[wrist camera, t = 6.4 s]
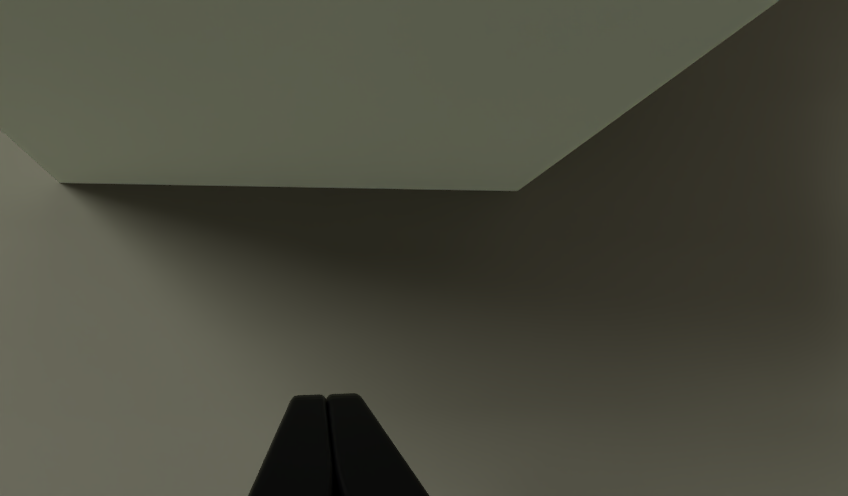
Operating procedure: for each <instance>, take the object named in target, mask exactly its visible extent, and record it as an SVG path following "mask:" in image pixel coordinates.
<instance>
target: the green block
mask: <svg viewBox="0 0 848 496" xmlns="http://www.w3.org/2000/svg"><path fill="white" fill-rule="evenodd" d="M778 1H779V0H0V130H1V131H3V132H4V133H5V134H6V135H7V136H8V137H9V138H10V139H11V140H12V141H14V142H15V143H16V144H17V145H18V146H19V147H20V148H21V149H22V150H24V151H25V152H26V153H27V154H28V155H29V156H30V157H31V158H32V159H34V160H35V161H36V162H37V163H38V164H39V165H40V166H41V167H42V168H44V169H45V170H46V171H47V172H48V173H49V174H50V175H51V176H52V177H54V178H55V179H56V180H57V181H58V182H59V183H93V184H149V185H204V186H260V187H316V188H372V189H428V190H483V191H518V190H520V189H521V188H522V187H524V186H525V185H527V184H528V183H529V182H531V181H532V180H533V179H535V178H536V177H538V176H539V175H540V174H542V173H543V172H544V171H546V170H547V169H549V168H550V167H551V166H553V165H554V164H555V163H557V162H558V161H560V160H561V159H562V158H564V157H565V156H566V155H568V154H569V153H571V152H572V151H573V150H575V149H576V148H577V147H579V146H580V145H581V144H583V143H584V142H586V141H587V140H588V139H590V138H591V137H592V136H594V135H595V134H597V133H598V132H599V131H601V130H602V129H603V128H605V127H606V126H608V125H609V124H610V123H612V122H613V121H614V120H616V119H617V118H619V117H620V116H621V115H623V114H624V113H625V112H627V111H628V110H630V109H631V108H632V107H634V106H635V105H636V104H638V103H639V102H641V101H642V100H643V99H645V98H646V97H647V96H649V95H650V94H652V93H653V92H654V91H656V90H657V89H658V88H660V87H661V86H663V85H664V84H665V83H667V82H668V81H669V80H671V79H672V78H673V77H675V76H676V75H678V74H679V73H680V72H682V71H683V70H684V69H686V68H687V67H689V66H690V65H691V64H693V63H694V62H695V61H697V60H698V59H700V58H701V57H702V56H704V55H705V54H706V53H708V52H709V51H711V50H712V49H713V48H715V47H716V46H717V45H719V44H720V43H722V42H723V41H724V40H726V39H727V38H728V37H730V36H731V35H733V34H734V33H735V32H737V31H738V30H739V29H741V28H742V27H744V26H745V25H746V24H748V23H749V22H750V21H752V20H753V19H754V18H756V17H757V16H759V15H760V14H761V13H763V12H764V11H765V10H767V9H768V8H770V7H771V6H772V5H774V4H775V3H776V2H778Z"/></svg>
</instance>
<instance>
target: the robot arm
mask: <svg viewBox="0 0 848 496" xmlns="http://www.w3.org/2000/svg"><path fill="white" fill-rule="evenodd" d="M248 496H429V495H428V493H427V492H426V490H425V489H424V487H423V486H422V484H421V483H420V481H419V480H418V479H417V477H416V476H415V474H414V473H413V471H412V470H411V468H410V467H409V465H408V464H407V463H406V461H405V460H404V458H403V457H402V455H401V454H400V452H399V451H398V450H397V448H396V447H395V445H394V444H393V442H392V441H391V439H390V438H389V436H388V435H387V434H386V432H385V431H384V429H383V428H382V426H381V425H380V423H379V422H378V421H377V419H376V418H375V416H374V415H373V413H372V412H371V410H370V409H369V407H368V406H367V405H366V403H365V402H364V400H363V399H362V398H361V396H360V395H358V394H355V393H349V394H331V395H329V396H328V397H327V398H325V397H324V396H323V395H297V396H294V397H293V398H292V399H291V401H290V403H289V405H288V408H287V410H286V412H285V414H284V417H283V419H282V421H281V423H280V426H279V428H278V430H277V432H276V434H275V437H274V439H273V441H272V443H271V446H270V448H269V450H268V452H267V455H266V457H265V459H264V461H263V464H262V466H261V468H260V470H259V473H258V475H257V477H256V479H255V482H254V484H253V486H252V488H251V491H250V493H249V495H248Z"/></svg>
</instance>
